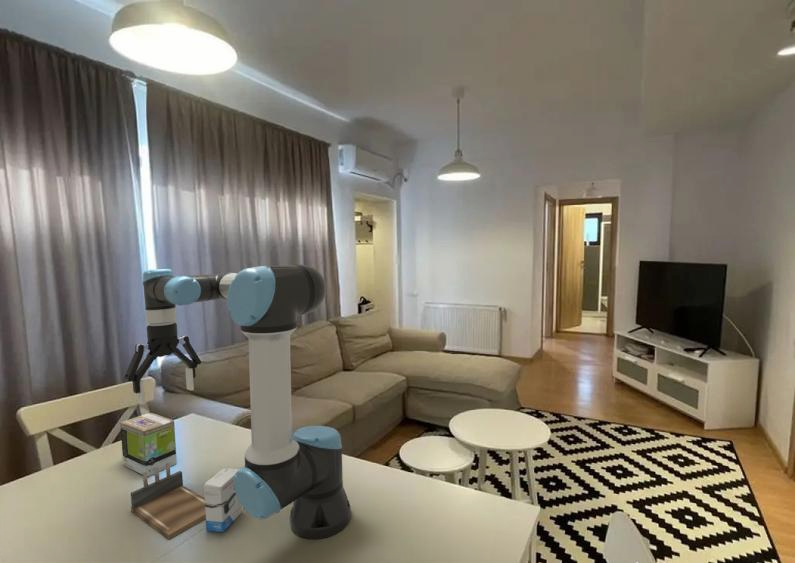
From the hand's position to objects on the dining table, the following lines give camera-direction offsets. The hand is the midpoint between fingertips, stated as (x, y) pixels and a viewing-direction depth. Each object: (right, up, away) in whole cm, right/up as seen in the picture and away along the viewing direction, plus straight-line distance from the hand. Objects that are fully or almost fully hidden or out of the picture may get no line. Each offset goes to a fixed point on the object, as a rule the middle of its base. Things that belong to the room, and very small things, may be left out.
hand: (167, 396), depth 120 cm
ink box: (+23, -28, -14) cm, 39 cm away
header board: (+7, -28, -10) cm, 30 cm away
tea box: (-14, -27, +15) cm, 34 cm away
